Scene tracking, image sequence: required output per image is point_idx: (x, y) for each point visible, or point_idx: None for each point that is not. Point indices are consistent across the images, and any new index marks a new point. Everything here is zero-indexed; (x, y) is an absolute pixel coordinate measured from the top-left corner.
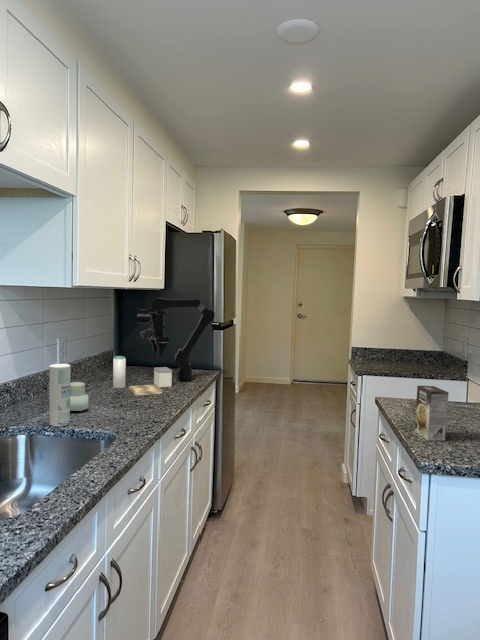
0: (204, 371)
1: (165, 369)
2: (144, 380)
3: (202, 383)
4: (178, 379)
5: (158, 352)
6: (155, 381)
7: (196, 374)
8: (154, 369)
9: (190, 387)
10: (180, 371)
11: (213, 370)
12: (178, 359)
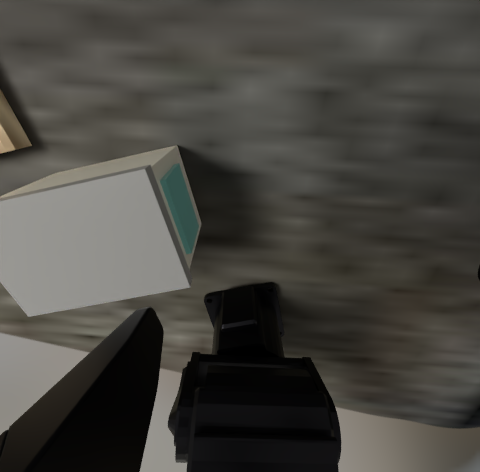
0: (439, 396)
1: (59, 272)
2: (287, 71)
3: (178, 368)
4: (222, 294)
5: (103, 354)
6: (132, 158)
7: (384, 366)
8: (117, 172)
9: (85, 322)
10: (218, 339)
11: (443, 421)
12: (179, 424)
